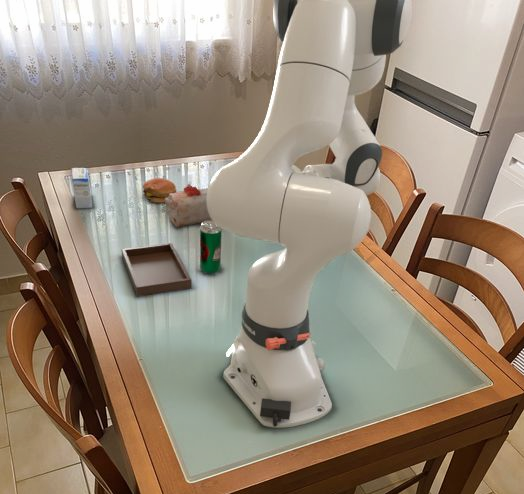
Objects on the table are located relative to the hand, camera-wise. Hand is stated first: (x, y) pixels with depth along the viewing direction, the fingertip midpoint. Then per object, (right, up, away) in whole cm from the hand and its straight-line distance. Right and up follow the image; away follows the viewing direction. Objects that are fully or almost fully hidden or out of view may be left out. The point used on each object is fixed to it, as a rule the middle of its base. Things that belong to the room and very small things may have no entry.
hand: (261, 189), depth 122 cm
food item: (-20, -1, +27) cm, 34 cm away
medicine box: (-51, +5, +31) cm, 60 cm away
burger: (-31, +9, +38) cm, 49 cm away
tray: (-25, -18, +5) cm, 32 cm away
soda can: (-13, -17, +8) cm, 23 cm away
